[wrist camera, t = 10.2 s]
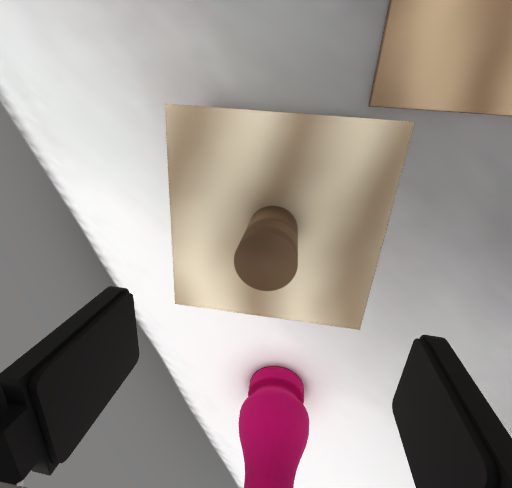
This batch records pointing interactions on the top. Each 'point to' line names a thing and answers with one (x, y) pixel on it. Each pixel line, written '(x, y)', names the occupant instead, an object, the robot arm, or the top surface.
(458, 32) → the mat
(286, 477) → the pepper mill
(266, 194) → the lid
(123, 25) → the top surface
